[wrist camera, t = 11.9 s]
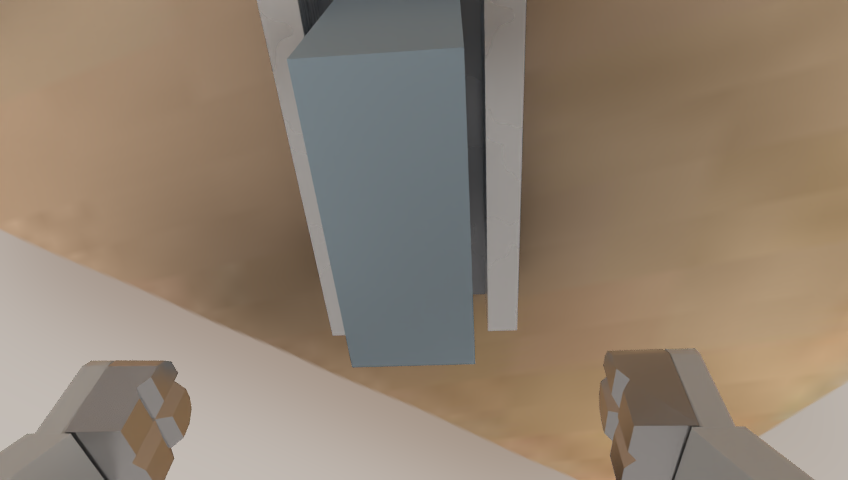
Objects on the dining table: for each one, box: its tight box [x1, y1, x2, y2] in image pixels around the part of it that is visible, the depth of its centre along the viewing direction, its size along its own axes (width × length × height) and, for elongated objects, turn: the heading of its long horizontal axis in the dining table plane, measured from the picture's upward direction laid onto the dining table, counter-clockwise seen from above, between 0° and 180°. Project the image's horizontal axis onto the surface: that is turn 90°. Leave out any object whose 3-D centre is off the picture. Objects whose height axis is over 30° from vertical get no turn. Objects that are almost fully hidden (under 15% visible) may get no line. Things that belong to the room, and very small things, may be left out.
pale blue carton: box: [287, 0, 475, 367], centre depth 18 cm, size 4×10×7 cm, turn 4°
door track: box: [257, 0, 527, 336], centre depth 21 cm, size 16×8×4 cm, turn 4°
